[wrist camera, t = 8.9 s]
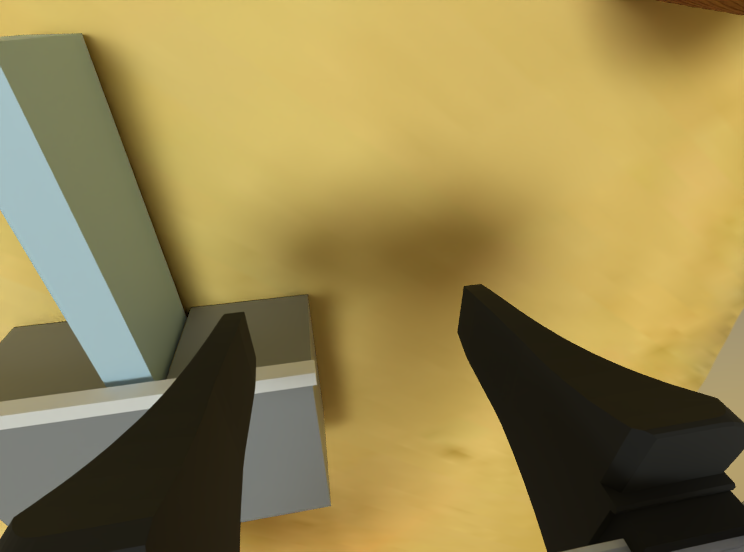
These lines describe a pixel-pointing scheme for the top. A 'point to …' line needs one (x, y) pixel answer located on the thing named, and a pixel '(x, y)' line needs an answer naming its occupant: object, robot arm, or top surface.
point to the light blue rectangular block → (83, 209)
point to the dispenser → (130, 402)
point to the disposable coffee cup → (714, 5)
